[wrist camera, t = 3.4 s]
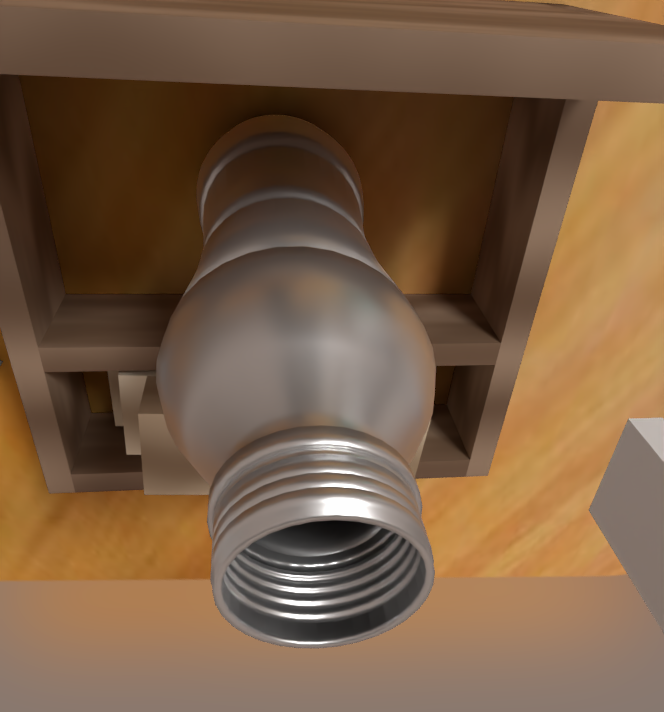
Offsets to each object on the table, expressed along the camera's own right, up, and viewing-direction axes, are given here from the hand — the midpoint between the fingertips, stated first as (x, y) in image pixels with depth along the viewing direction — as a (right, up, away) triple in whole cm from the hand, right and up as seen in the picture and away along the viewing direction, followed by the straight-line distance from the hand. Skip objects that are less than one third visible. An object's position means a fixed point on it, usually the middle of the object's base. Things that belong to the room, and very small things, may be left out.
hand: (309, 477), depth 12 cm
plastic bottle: (-2, +10, +14) cm, 17 cm away
